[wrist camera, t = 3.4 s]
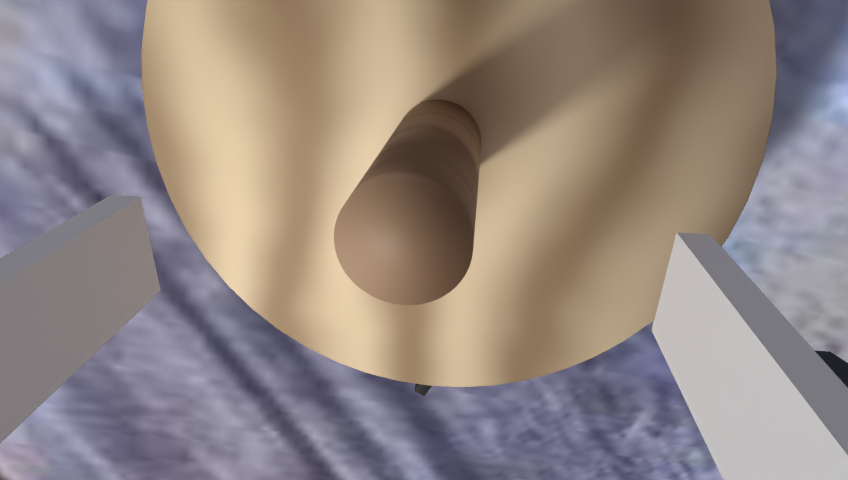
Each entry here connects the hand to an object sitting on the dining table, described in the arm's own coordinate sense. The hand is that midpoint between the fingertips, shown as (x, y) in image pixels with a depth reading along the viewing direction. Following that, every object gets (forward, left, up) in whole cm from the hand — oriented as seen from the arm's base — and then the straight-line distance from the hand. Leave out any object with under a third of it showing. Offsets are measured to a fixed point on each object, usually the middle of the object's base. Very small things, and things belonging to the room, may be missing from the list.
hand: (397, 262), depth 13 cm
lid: (0, 0, -12) cm, 12 cm away
